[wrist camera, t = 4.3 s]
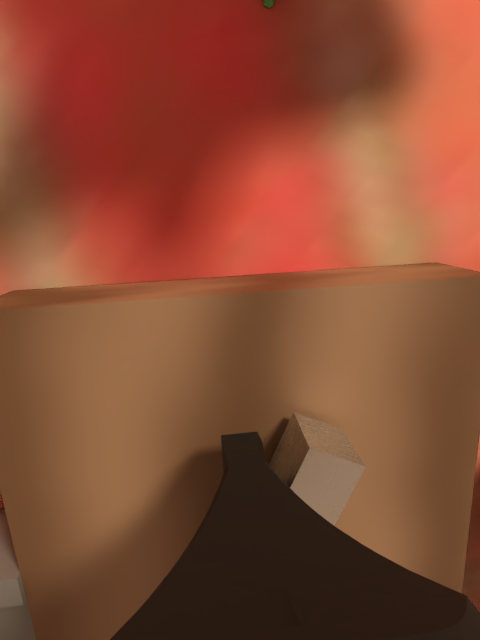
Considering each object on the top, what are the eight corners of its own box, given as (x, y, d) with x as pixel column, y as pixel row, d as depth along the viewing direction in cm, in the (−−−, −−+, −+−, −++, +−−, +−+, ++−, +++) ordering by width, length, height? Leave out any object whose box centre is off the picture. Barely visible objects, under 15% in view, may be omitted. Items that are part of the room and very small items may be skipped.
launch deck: (436, 262, 14) (496, 275, 11) (406, 690, 19) (442, 776, 16) (12, 290, 13) (-43, 313, 10) (101, 731, 18) (82, 830, 15)
